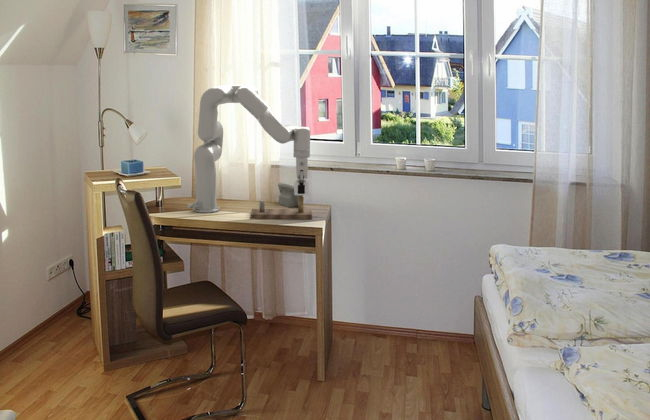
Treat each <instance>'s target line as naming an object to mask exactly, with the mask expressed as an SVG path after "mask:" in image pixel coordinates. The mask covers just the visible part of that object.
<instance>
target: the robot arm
mask: <svg viewBox="0 0 650 420" xmlns="http://www.w3.org/2000/svg"><path fill="white" fill-rule="evenodd" d="M229 103H230V104H240V105H241V106H242V107H243V108H244V109H245V110H246V111H247V112H248V113H249V114H251V115H252V116H253V117H254V118H255V119H256V120H257V122H258V123H259V125H260V126H261V127H262V129H263V130H264V131H265V132H266V133H267V134H268V135H269V136H270V138H272V139H273V140H274V141H275V142H277V143H279V144H287V143H289V142H293V155H292V156H293V157H294V158H295V173H296V178H297V179H296V180H298V194H305V185H304V180H308V177H309V176H308V175H309V174H308V171H309V166H308V165H309V163H308V160H309V158H310V157H311V129H310V127H308V126H296V125H295V126H294V125H289V124H288V125H287V124H286V125H283V124H281V122H280V121H279V120H278V119H277V118H276V117H275V115H274V114H273V111H272V108H271V106H270V105H269V104H268V103H267V102H266V101H265V100H264V99H263V98H262V96H260V95H259V90H258V89H257V87H255V86H254V85H252V84H221V85H216V86H213V87H210V88H208V89H207V90H204V92H203V94H202V95H201V96H200V101H199V113H198V125H197V136H198V138H199V140H200V141H203V144H201V145H199V146H197V147H196V149H195V151H194V154H193V161H194V166H195V167H194V168H195V196H196V197H195V200H194V201H193V203H188V204H187V205H186V206H187V209H192V210H193V211H194V212H196V213H201V214H202V213H203V214H204V213H205V214H207V213H217V212H219V211H220V210H221V207H220V206H218V205H217V169H216V161H218V160H219V159H220V158H221V156H222V152H223V144H224V143H223V142H224V128H223V125H222V123H221V122H220V121H218V118H219V117H218V116H219V112H218V111H219V110H218V107H219V106H220V105H223V104H229Z"/></svg>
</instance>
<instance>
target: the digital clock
mask: <svg viewBox="0 0 650 420" xmlns="http://www.w3.org/2000/svg"><path fill="white" fill-rule="evenodd" d="M277 187H278V190H279V193H280V194H279V195H278V204H279V205H280V206H283V205H284V206H283V207H288V208H294V206H296V207H298V197H299V195H294V184H290V183H285V182H278V185H277Z"/></svg>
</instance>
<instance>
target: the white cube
mask: <svg viewBox="0 0 650 420" xmlns="http://www.w3.org/2000/svg"><path fill="white" fill-rule="evenodd" d="M293 185H294V195H303V196H309V180H308V179H304V185H305V194H298V179H294V180H293Z"/></svg>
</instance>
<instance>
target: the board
mask: <svg viewBox="0 0 650 420" xmlns="http://www.w3.org/2000/svg"><path fill="white" fill-rule="evenodd" d="M304 198H305V197H304V195H299V197H298V206H297V208H266V201H265V200H259V208H251V211H250V212H251V213H250V219H251V218H253V219H254V218H255V219H256V220H262V219H263V220H274V219H275V220H312V219H313V212H312V209H311V208H307V209H305V207H304V205H305V201H304V200H305V199H304ZM253 219H252V220H253Z"/></svg>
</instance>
